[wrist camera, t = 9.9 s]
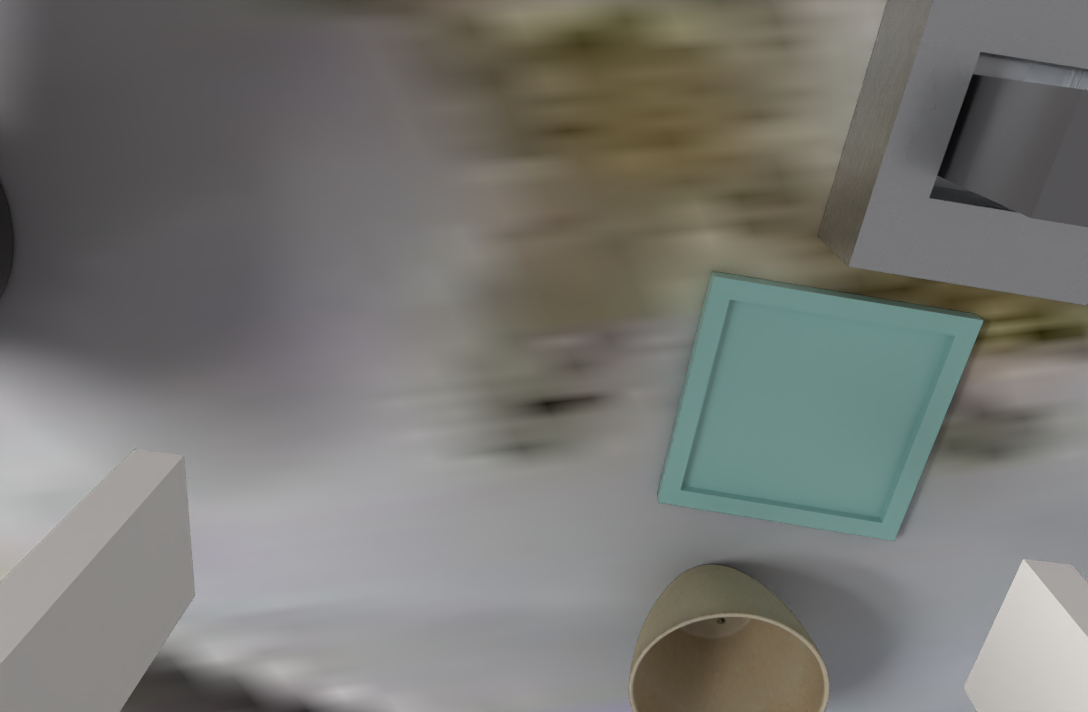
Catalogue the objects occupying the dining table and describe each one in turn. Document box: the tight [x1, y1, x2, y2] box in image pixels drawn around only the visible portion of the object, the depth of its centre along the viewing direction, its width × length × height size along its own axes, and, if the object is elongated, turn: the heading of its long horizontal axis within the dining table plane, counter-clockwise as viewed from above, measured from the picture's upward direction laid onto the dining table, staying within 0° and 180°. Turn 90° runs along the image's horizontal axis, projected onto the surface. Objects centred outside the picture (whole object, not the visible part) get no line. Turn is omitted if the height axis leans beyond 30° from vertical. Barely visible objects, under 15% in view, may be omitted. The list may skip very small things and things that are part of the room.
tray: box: [657, 271, 984, 541], centre depth 40 cm, size 13×13×1 cm
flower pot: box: [629, 564, 830, 712], centre depth 42 cm, size 10×10×7 cm
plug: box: [937, 74, 1088, 227], centre depth 29 cm, size 4×4×10 cm
